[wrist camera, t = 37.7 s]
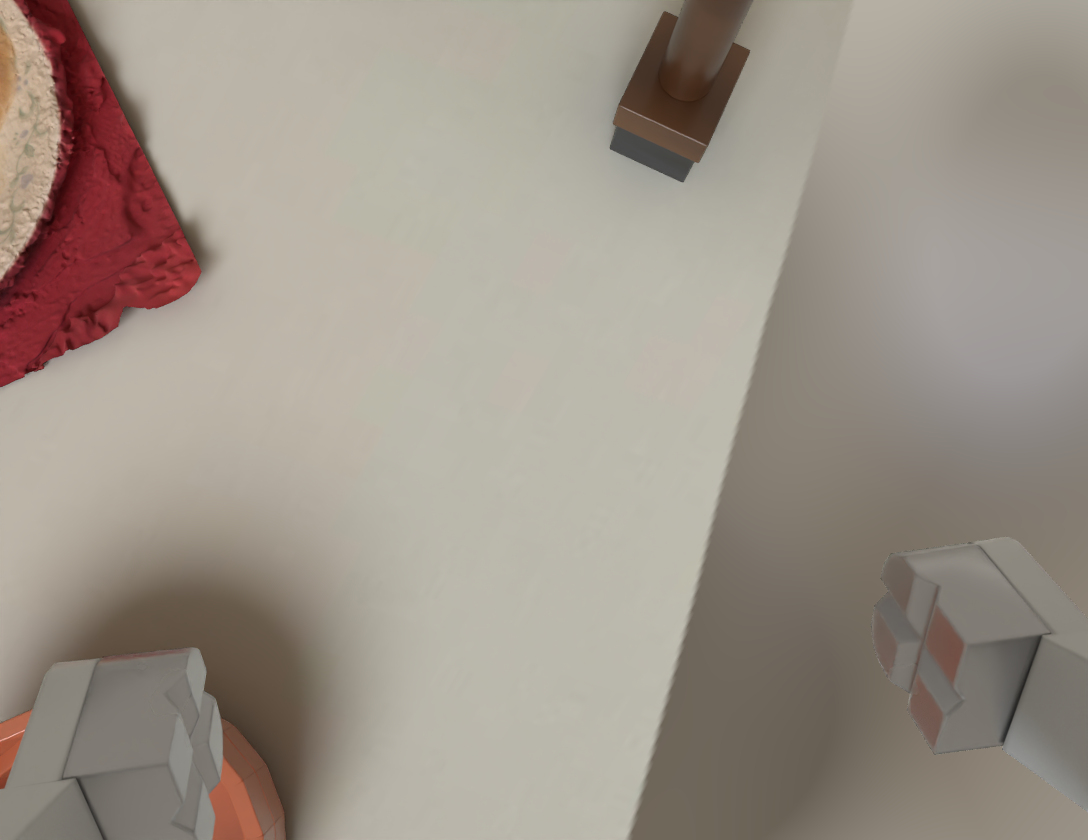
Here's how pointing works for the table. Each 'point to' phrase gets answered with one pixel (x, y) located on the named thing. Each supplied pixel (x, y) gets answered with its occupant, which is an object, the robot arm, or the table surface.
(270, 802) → the bowl
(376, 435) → the table surface
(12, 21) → the plate with food
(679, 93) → the dish brush
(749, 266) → the table surface
